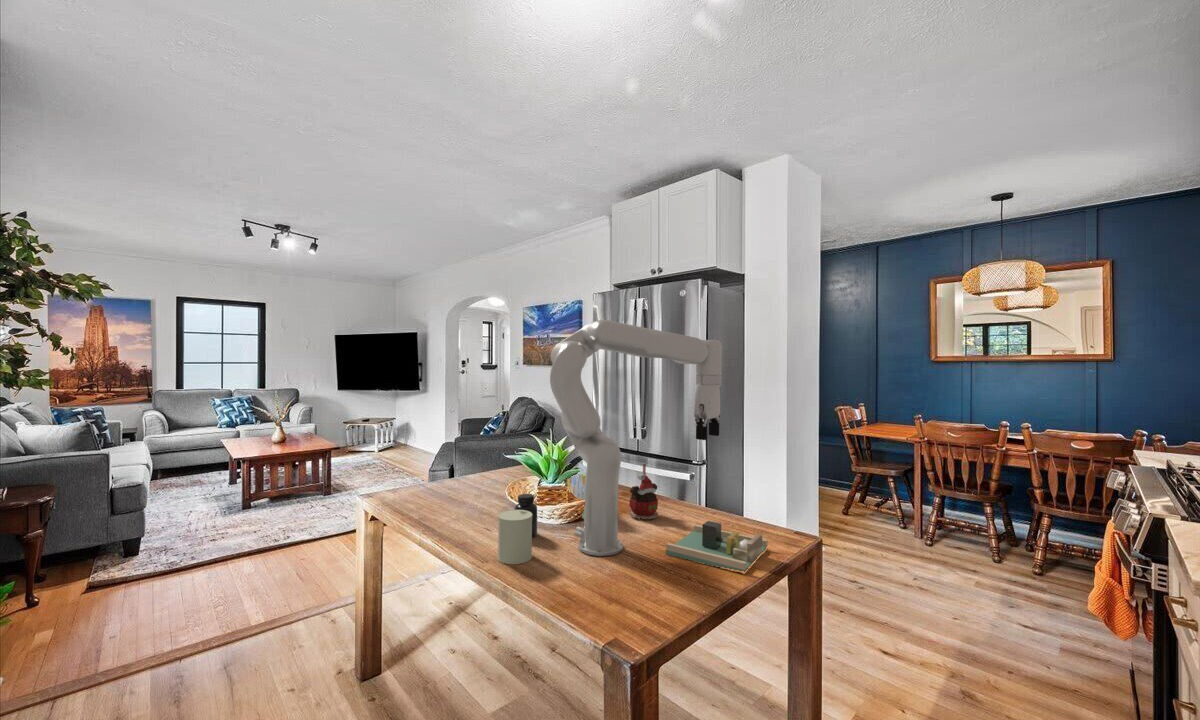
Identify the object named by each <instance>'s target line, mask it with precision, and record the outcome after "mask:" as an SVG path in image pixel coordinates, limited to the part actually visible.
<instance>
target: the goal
mask: <svg viewBox="0 0 1200 720" xmlns="http://www.w3.org/2000/svg"><path fill="white" fill-rule="evenodd" d="M752 537H753V538H752V539H751V540H746V539H744V540H743V541H748V543H747V551H746V550H742V549H737V548H734V549H733V558H734V559H738V560H742V561H746V562H750V563H752V562H753V561H754V560H755V559H756V557H757V556H758V555H759V554H760V553H761V552H762V539H763V533H757V534H756V535H754V536H752Z"/></svg>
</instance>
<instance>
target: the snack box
mask: <svg viewBox="0 0 1200 720" xmlns="http://www.w3.org/2000/svg"><path fill="white" fill-rule="evenodd" d="M578 463H579V465H578V466H577V467H578V468H582V469H581V471H580V472H578V473H577V474H576V475H573V476H571V477H570V478H569V479H568V481H566V486H567V485H568V487H569V489H570V492H571V493H572V494H573V495H574V496H575V497H577V498H580V499H583V500H585V476H586V470H587V465H584V464H582V463H581V462H578ZM569 464H570V463H568V464H567V466H568V465H569ZM583 469H584V470H583ZM584 509H585V507H584ZM581 518H582V519H583V520H584V511H583V514H582V517H581Z"/></svg>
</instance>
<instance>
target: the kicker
mask: <svg viewBox="0 0 1200 720" xmlns="http://www.w3.org/2000/svg"><path fill="white" fill-rule="evenodd" d="M701 526H702V546H705V547H709V548H713V549H717V548H718V547H719V546H720V545H721V542H722V543H726V553H727V554H731V553H733V549H734V548H738V542H739V534H740V533H739V531H733V533H732V534H731V535H729V536H728V537H727V538H726V539H725V538H721V530H722V523H721V522H716V521H710V520H707V521H705V522H704V523H703V524H702V525H701Z"/></svg>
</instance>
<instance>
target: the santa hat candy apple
mask: <svg viewBox="0 0 1200 720" xmlns="http://www.w3.org/2000/svg"><path fill="white" fill-rule="evenodd" d="M646 466H647V465H646V463H642V473H638V475H637V479H638V480H641V483H640V485H639V486H637V485H633V486H631V488H630V491H629V492H630V495H631V497H630V498H629V508H630V509H631V510H629V516H630V517H632V518H634V519H639V520H641V519H642V520H651V519H655V518H657V517H658V515H659V514H658V513H659V512H658V511H657V510H658V508H659V499H658V498H657V494H656V491H657V490H658V484H656V483H654V482H652V480H651V479H650V477H649V476H648V475H646V469H647V468H646ZM640 518H641V519H640Z"/></svg>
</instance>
